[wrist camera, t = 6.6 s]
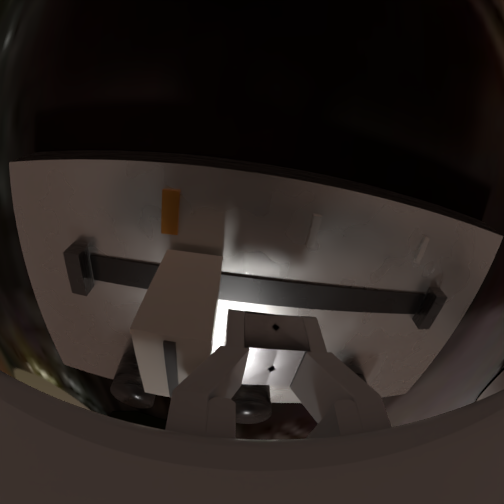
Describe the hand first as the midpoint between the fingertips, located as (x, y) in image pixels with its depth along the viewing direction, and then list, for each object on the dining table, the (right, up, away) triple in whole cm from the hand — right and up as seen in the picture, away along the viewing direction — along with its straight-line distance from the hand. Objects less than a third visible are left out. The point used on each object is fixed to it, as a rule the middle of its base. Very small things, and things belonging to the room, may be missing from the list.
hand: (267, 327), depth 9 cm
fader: (-3, +1, +1) cm, 3 cm away
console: (0, 0, +5) cm, 4 cm away
